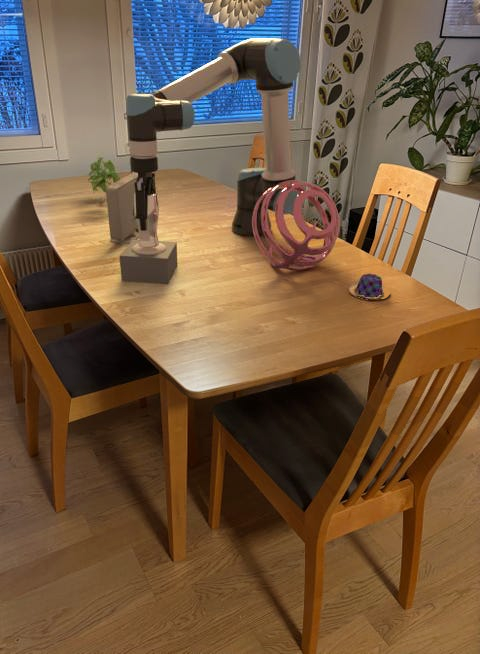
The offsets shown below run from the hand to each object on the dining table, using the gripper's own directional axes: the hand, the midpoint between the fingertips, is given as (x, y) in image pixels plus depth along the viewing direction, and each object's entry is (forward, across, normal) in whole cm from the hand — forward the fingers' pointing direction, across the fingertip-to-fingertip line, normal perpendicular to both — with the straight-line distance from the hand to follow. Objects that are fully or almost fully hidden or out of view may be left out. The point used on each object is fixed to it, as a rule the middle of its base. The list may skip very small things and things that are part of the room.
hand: (148, 235), depth 152 cm
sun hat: (+13, +4, +66) cm, 67 cm away
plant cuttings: (+12, -73, -34) cm, 81 cm away
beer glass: (+3, +1, 0) cm, 3 cm away
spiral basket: (+12, -13, +44) cm, 47 cm away
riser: (+12, 0, 0) cm, 12 cm away
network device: (+12, -34, -16) cm, 40 cm away
